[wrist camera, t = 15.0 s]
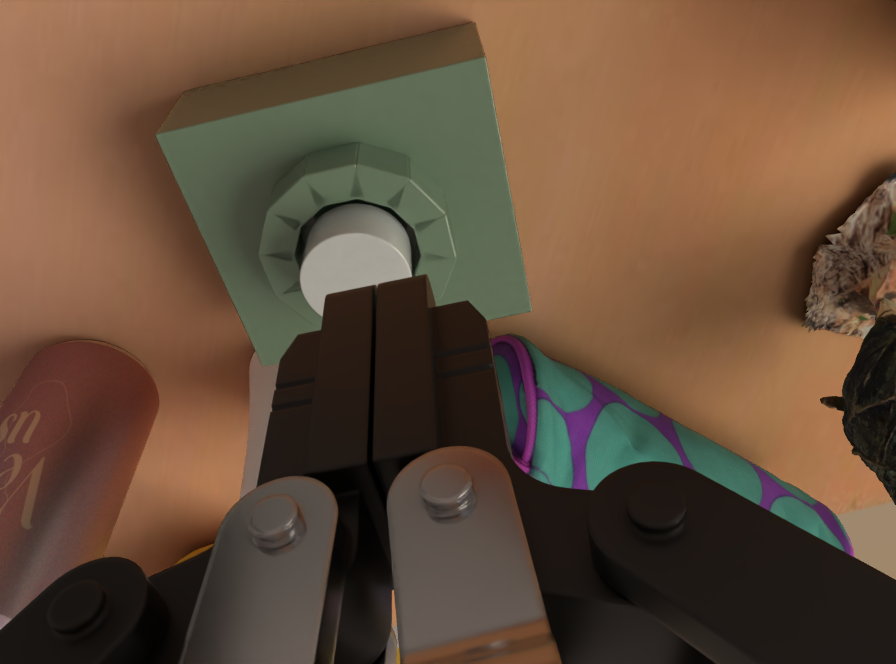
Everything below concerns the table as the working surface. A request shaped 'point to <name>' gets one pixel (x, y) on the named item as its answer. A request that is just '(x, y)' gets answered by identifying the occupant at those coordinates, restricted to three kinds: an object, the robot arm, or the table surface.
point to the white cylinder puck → (353, 252)
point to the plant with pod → (864, 325)
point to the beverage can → (67, 461)
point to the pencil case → (624, 438)
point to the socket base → (351, 174)
